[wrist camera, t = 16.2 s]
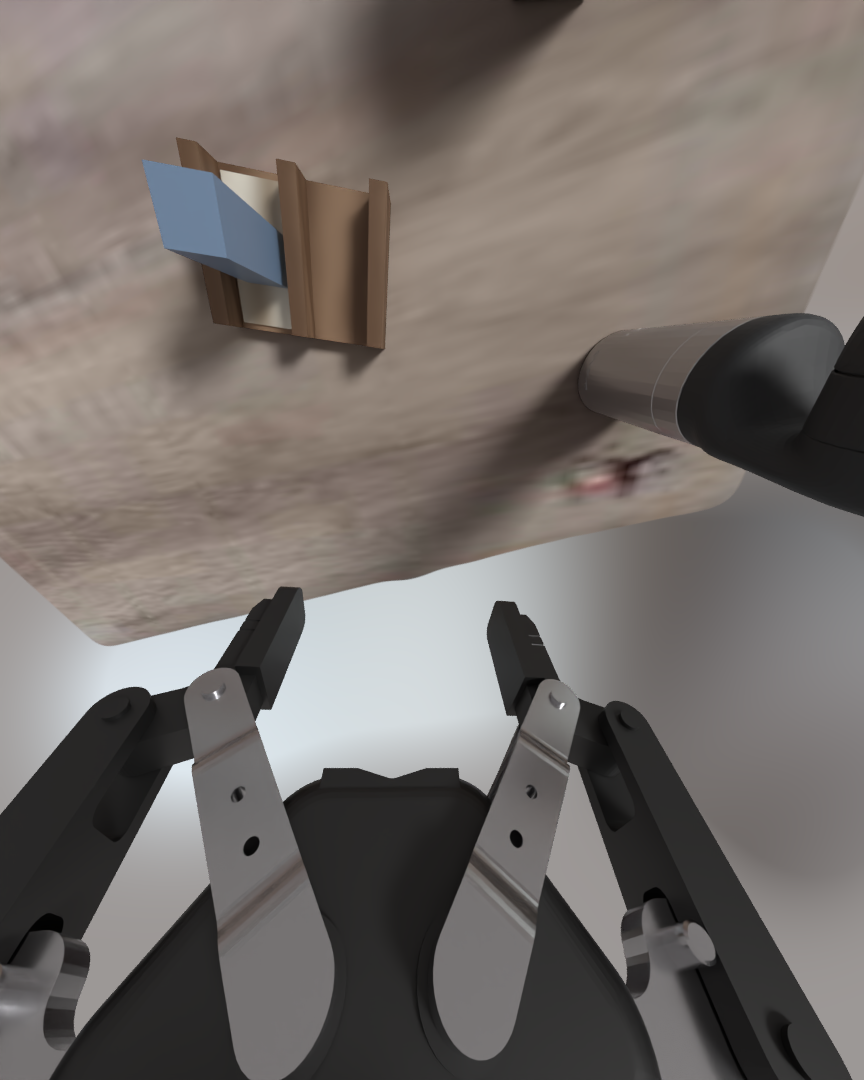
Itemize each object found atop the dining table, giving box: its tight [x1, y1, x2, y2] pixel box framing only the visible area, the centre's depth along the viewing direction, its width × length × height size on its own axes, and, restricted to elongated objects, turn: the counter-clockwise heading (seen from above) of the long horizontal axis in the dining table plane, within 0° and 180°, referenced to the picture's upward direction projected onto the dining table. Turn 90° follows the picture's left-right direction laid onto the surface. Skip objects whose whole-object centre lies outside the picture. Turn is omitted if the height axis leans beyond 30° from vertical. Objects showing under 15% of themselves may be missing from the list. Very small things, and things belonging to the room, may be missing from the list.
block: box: [142, 160, 288, 288], centre depth 25 cm, size 4×4×12 cm
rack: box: [176, 138, 391, 349], centre depth 30 cm, size 16×12×4 cm
